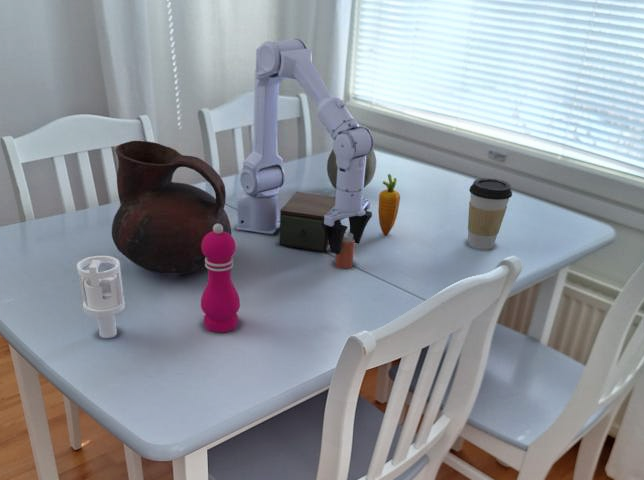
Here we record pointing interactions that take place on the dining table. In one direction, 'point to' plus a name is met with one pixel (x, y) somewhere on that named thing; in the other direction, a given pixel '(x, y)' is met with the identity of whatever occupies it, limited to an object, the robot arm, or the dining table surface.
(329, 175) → the cantaloupe
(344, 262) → the orange jar
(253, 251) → the dining table surface
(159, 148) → the jug
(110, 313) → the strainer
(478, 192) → the coffee cup
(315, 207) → the cabinet
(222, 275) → the pepper mill
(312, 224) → the drawer
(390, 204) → the carrot
